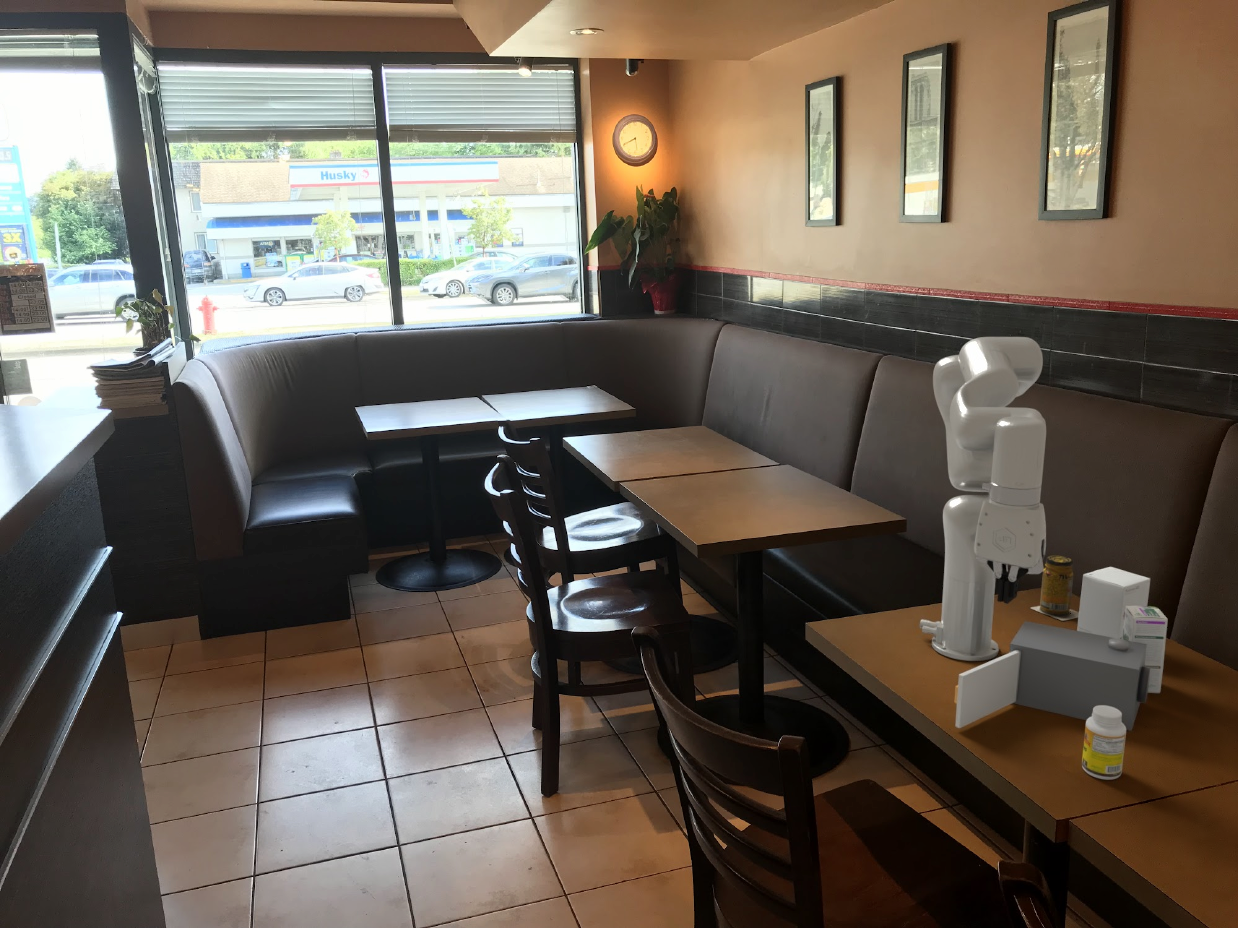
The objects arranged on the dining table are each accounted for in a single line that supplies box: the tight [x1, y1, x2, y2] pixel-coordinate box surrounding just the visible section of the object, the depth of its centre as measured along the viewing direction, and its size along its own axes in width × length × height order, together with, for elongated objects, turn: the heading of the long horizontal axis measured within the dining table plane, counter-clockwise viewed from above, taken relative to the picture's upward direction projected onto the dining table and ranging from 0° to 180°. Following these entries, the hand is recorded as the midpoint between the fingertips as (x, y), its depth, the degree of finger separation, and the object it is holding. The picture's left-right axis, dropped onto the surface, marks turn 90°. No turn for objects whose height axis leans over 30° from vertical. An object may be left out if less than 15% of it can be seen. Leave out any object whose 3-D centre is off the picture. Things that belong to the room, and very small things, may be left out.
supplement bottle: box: [1081, 705, 1127, 781], centre depth 148 cm, size 6×6×10 cm
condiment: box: [1030, 555, 1079, 621], centre depth 210 cm, size 7×8×12 cm
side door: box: [953, 650, 1021, 729], centre depth 166 cm, size 16×2×9 cm, turn 125°
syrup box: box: [1122, 605, 1168, 694], centre depth 175 cm, size 6×6×14 cm
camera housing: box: [1008, 620, 1150, 732], centre depth 170 cm, size 21×12×12 cm, turn 56°
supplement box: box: [1076, 566, 1151, 639], centre depth 192 cm, size 9×9×15 cm
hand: (1005, 599), depth 160 cm, fingers closed
